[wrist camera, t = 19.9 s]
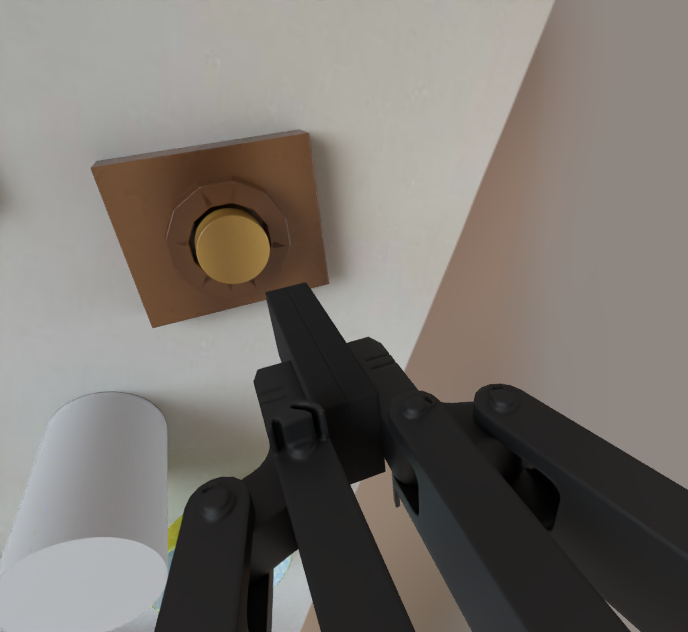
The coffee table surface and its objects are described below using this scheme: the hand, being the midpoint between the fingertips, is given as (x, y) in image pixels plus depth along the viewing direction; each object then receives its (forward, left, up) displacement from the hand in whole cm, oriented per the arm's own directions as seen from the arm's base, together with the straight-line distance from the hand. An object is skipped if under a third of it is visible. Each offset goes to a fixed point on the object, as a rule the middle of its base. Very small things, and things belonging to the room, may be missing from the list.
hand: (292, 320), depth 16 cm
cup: (+13, +15, -15) cm, 25 cm away
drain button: (+1, +1, -12) cm, 12 cm away
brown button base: (+1, +1, -15) cm, 15 cm away
